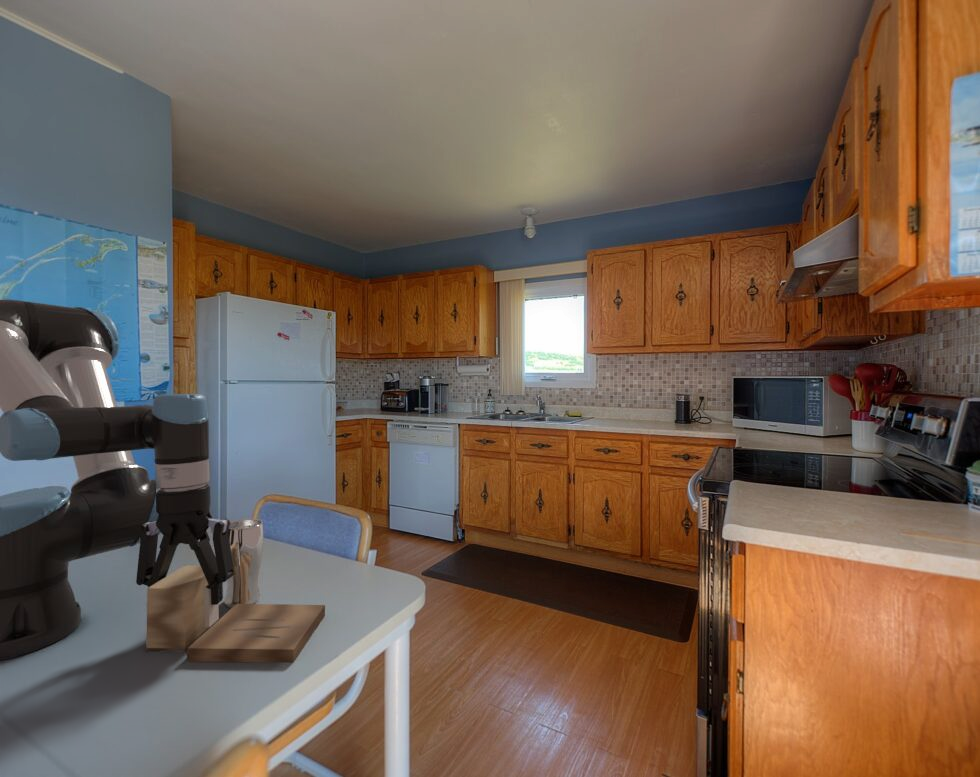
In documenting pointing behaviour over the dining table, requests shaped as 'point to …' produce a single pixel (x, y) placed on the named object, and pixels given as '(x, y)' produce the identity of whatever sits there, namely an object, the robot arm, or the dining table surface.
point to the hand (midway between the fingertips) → (187, 623)
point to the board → (258, 634)
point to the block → (176, 610)
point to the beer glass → (245, 561)
